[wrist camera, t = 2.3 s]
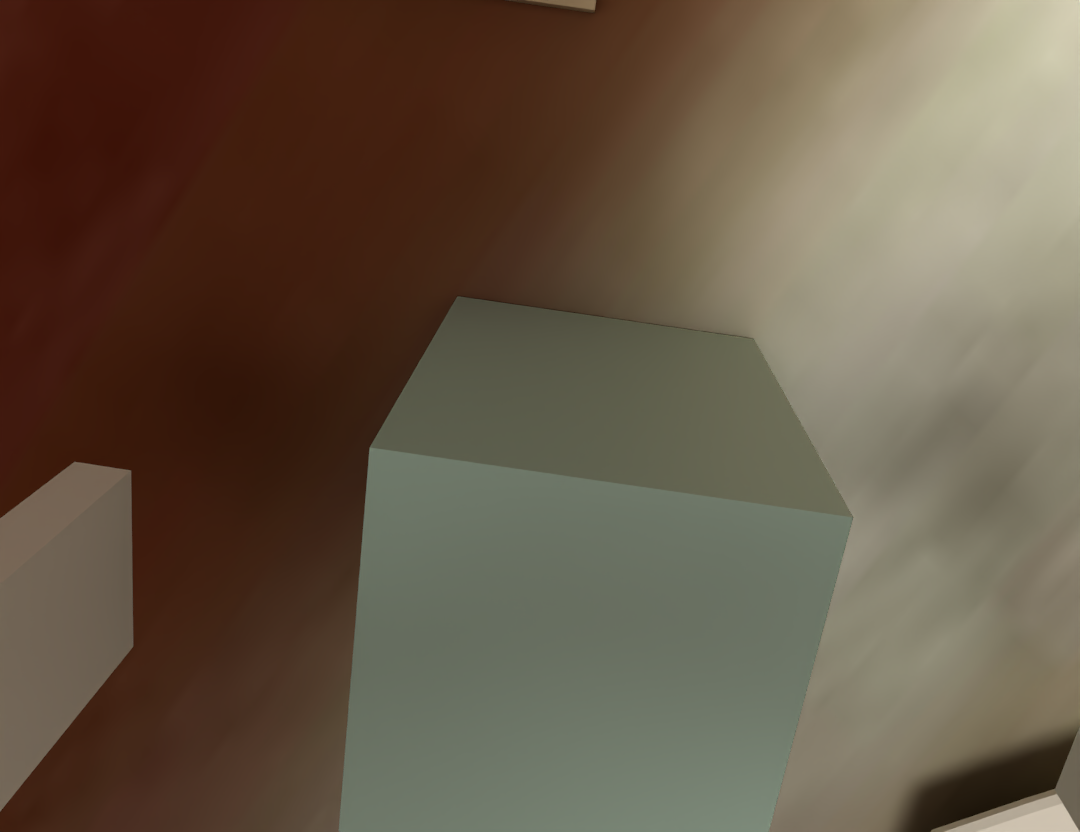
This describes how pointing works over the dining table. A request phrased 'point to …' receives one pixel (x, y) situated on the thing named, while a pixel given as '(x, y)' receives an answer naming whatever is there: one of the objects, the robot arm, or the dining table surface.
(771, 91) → the dining table surface
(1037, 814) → the plate
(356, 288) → the dining table surface
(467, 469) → the grey-green block
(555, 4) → the stand
